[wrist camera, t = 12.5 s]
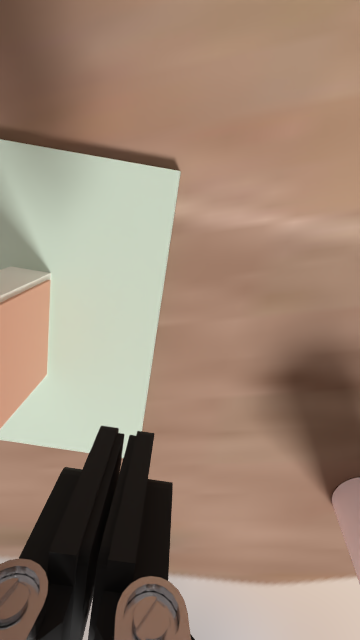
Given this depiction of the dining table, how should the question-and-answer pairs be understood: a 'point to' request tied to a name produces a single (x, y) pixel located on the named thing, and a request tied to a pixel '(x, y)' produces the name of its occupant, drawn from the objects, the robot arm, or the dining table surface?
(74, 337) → the mat
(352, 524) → the smoothie
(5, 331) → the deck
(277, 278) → the dining table surface
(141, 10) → the dining table surface
